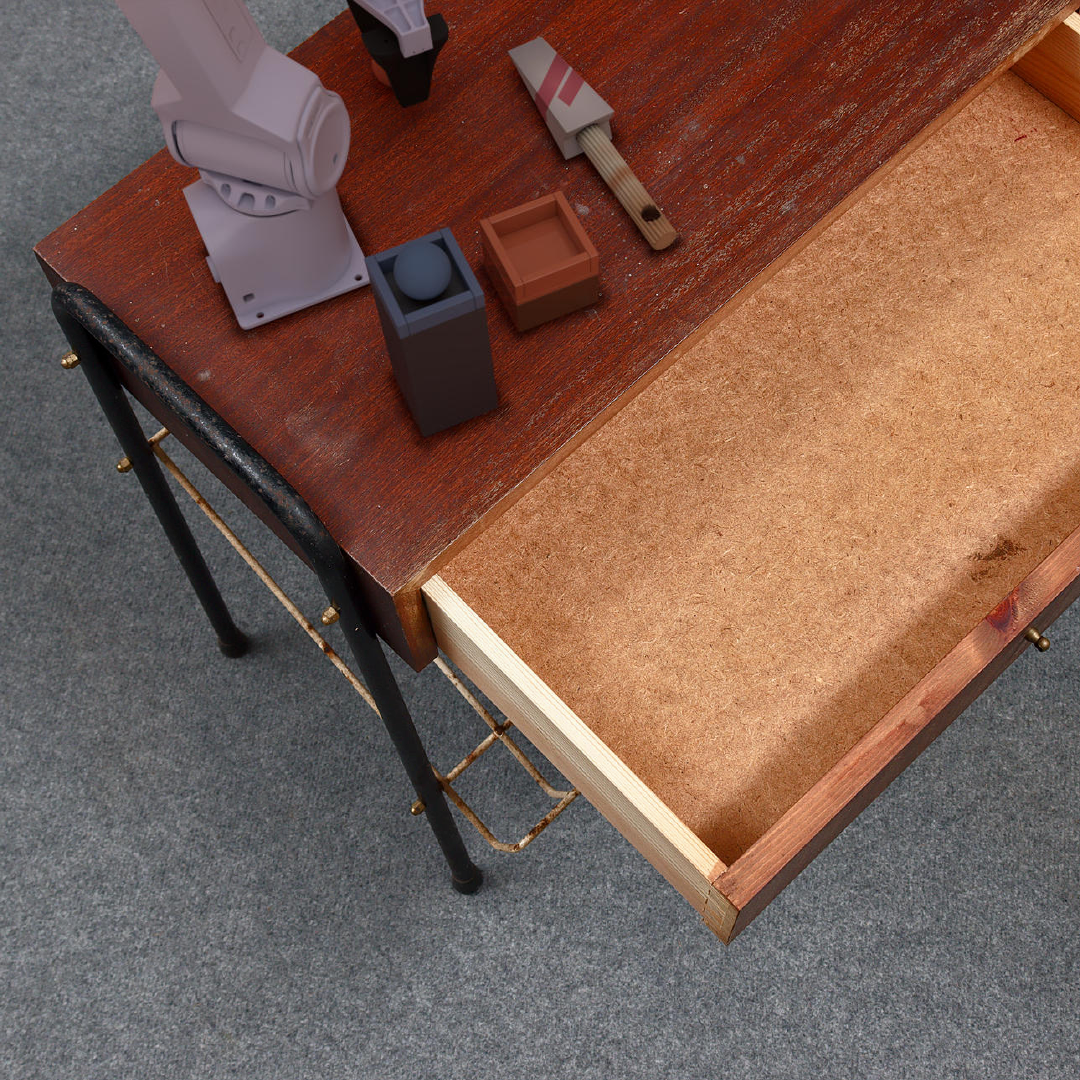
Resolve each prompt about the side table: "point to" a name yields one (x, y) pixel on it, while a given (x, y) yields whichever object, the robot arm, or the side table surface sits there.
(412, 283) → the slate ball
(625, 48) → the side table surface
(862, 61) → the side table surface
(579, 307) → the terracotta cup
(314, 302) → the robot arm
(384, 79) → the terracotta ball
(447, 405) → the slate stand
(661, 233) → the paintbrush
